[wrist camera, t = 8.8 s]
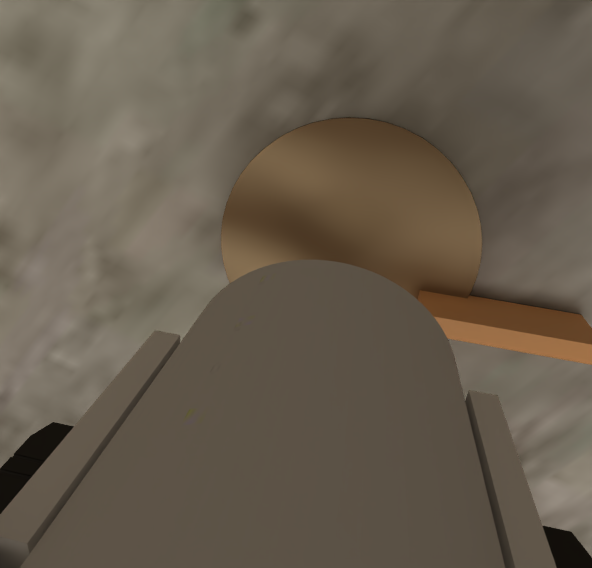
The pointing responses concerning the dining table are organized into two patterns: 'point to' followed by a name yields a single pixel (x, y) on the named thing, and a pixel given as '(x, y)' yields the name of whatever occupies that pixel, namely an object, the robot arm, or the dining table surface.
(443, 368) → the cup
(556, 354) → the bars
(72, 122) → the dining table surface
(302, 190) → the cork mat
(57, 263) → the dining table surface
